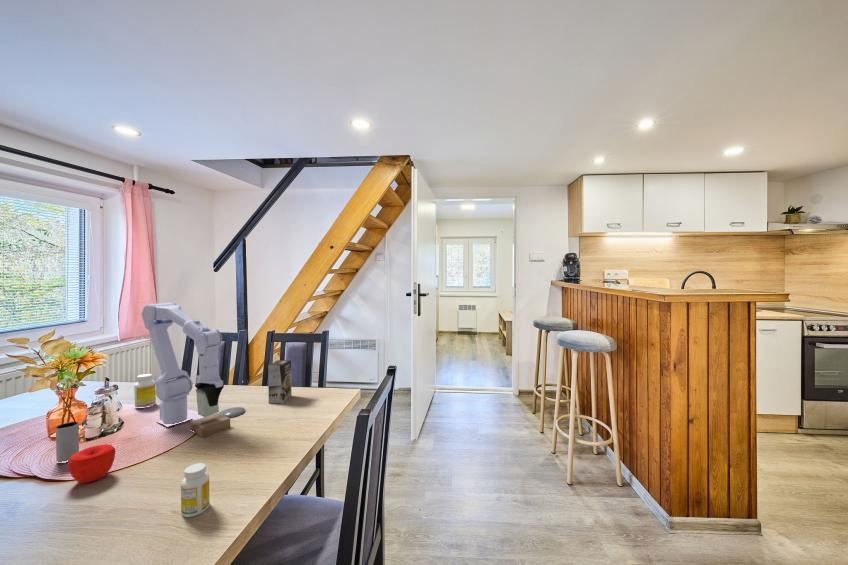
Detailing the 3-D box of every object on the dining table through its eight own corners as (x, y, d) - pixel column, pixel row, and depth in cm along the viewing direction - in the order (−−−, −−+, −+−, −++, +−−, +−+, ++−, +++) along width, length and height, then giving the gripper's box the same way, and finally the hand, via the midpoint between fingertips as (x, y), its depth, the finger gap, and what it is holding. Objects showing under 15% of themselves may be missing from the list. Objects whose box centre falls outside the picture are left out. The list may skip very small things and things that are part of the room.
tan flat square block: (189, 430, 115) (189, 421, 115) (217, 420, 123) (217, 412, 123) (202, 437, 111) (202, 428, 111) (230, 426, 118) (230, 418, 118)
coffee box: (283, 403, 140) (282, 365, 139) (268, 403, 140) (267, 365, 139) (292, 395, 149) (291, 359, 148) (277, 395, 149) (277, 359, 149)
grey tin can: (82, 457, 99) (81, 422, 99) (62, 465, 95) (61, 429, 94) (73, 454, 100) (72, 420, 100) (52, 462, 96) (51, 427, 96)
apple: (73, 494, 82) (72, 462, 82) (63, 482, 87) (62, 452, 86) (121, 475, 89) (120, 446, 89) (109, 465, 94) (108, 438, 94)
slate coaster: (213, 414, 128) (213, 413, 128) (237, 407, 136) (237, 405, 136) (225, 420, 124) (225, 418, 124) (249, 411, 131) (249, 410, 131)
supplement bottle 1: (158, 405, 139) (157, 374, 138) (138, 410, 133) (137, 378, 133) (152, 402, 142) (151, 372, 142) (132, 407, 137) (131, 376, 136)
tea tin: (197, 414, 116) (195, 389, 115) (212, 409, 120) (210, 384, 119) (204, 417, 113) (202, 391, 112) (219, 411, 117) (217, 387, 116)
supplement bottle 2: (185, 521, 72) (184, 478, 72) (178, 510, 76) (177, 468, 76) (213, 508, 77) (212, 466, 76) (205, 498, 80) (204, 458, 80)
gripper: (186, 365, 117) (187, 403, 117) (206, 371, 109) (207, 412, 109) (208, 360, 123) (209, 397, 123) (229, 366, 115) (229, 405, 115)
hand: (209, 404), depth 117 cm, fingers closed on tea tin, 5 cm apart
